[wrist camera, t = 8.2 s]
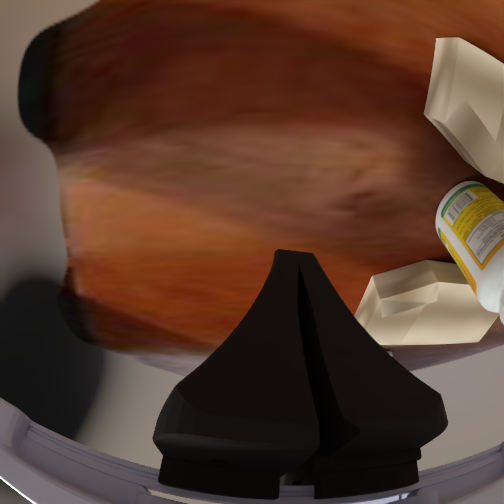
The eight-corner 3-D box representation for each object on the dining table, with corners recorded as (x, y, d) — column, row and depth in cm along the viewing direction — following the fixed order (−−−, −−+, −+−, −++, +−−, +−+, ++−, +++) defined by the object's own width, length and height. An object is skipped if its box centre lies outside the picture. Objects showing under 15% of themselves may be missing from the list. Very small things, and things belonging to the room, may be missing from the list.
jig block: (469, 323, 23) (479, 343, 21) (351, 320, 23) (356, 346, 21) (561, 119, 10) (582, 131, 8) (436, 38, 10) (461, 37, 8)
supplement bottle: (439, 178, 16) (527, 276, 8) (495, 179, 15) (581, 263, 7) (427, 247, 19) (483, 354, 11) (480, 241, 18) (541, 333, 10)
